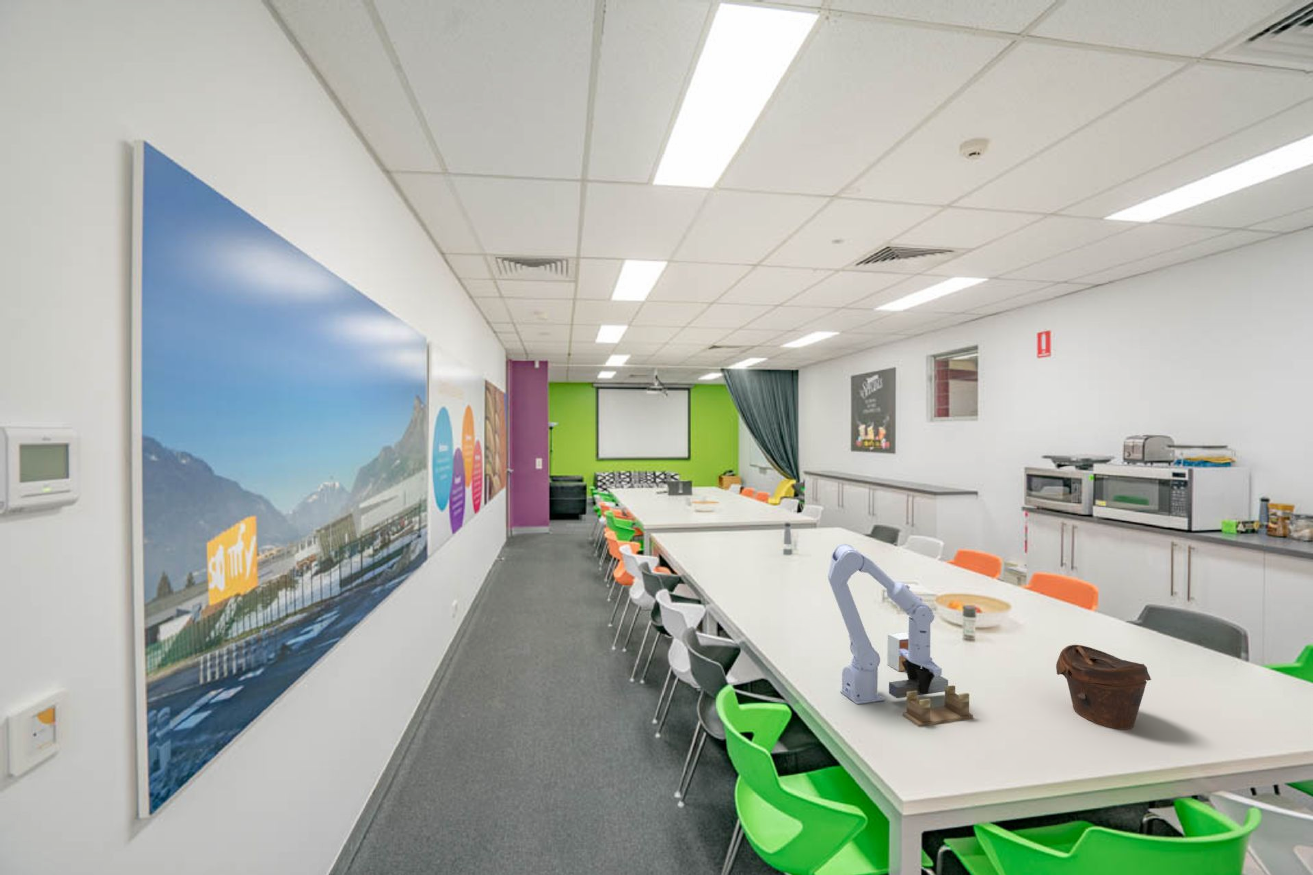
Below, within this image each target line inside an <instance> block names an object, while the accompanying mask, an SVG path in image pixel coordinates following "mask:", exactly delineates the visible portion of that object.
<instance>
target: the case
mask: <svg viewBox="0 0 1313 875" xmlns="http://www.w3.org/2000/svg"><path fill="white" fill-rule="evenodd" d="M1055 668H1056V675H1058V676H1059V675H1062V676H1064V678H1065V679H1066V681H1067V685H1068V690H1069V695H1070V699H1071V703H1072V708H1073V710H1074V711H1075V713H1077V714H1078V715H1079V716H1081V717H1083V718H1084V719H1086V720H1087V721H1090V722H1093V723H1095V724H1098V725H1101V726H1104V727H1107V728H1112V729H1119V730H1127V729H1132V728H1133V727H1134V726H1135V723H1136V720H1137V717H1138V713H1139V711H1140V707H1141V704H1142V703H1141V702H1142V699H1143V696H1144V693H1145V688H1146V686H1147V683H1148V681H1151V680H1152V678H1151V676H1150V673H1149V671H1148V668H1147V665H1145V664H1144V663H1139V662H1133V661H1129V660H1126V659H1121V658H1119V657H1116V656H1115V655H1112V654H1110V653H1108V652H1105V651H1102V650H1099V649H1096V648H1094V647H1093V648H1092V647H1089V646H1086V645H1082V644H1070V645H1067V646H1065V647H1064V648H1063V649H1062V650H1061V651H1060V653H1059V656H1058V658H1057V661H1056V664H1055Z"/></svg>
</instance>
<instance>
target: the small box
mask: <svg viewBox="0 0 1313 875" xmlns="http://www.w3.org/2000/svg"><path fill="white" fill-rule="evenodd" d="M908 636H909V632H907V631H905V632H902V633H901V632H899V633H888V634H887V654H886V655H887V657H886V658H887V659H886V660H887V662H886V663H887V666H889V667H890V668H892V669H894V670H895V671H897V672H903V671H905V672H906V670H905V668H904V666H903V665H902V661H905V660H906V658H905V657H903V656H902V657H901V656H899V655H898V649H906V650H908Z"/></svg>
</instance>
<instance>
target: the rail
mask: <svg viewBox="0 0 1313 875" xmlns="http://www.w3.org/2000/svg"><path fill="white" fill-rule="evenodd" d="M945 686H949V680H948V679H947V678H945V677H944V676H942V675H940V676H934V678H933V679H932V681H931V684H930V686H929V690H928V693H926V694H921V693H920V690H919V679H918V678H916V679H904V680H903V679H902V680H896V681H894V680H893V681H889V682H888V694H889V695H890V696H892V697H894V698H896V699H903V698H907V692H909V691H917V697H918V696H925V695H930V694H932V695H933V694H936V693H937V694H938V693H945Z"/></svg>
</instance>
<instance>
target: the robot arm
mask: <svg viewBox="0 0 1313 875" xmlns="http://www.w3.org/2000/svg"><path fill="white" fill-rule="evenodd" d="M830 558H831V561H830V565H829V571H828V576H827V579H828V582H829V584H830V587H831V590H832V592H833V595H834V598H835V601H836V602H837V603H836V604H837V606H838V609H839V611H840V614H841V616H842V617H841V618H842V620H843V622H844V625H845V628H846V630H847V633H848V637H849V640H850V646H849V649H850V652H851V654H852V655H853V657H852V659H851V663H850V665H848V666H845V667H844V668H843V669H842V674H841V676H842V677H841V689H840V693H842V694H843V695H845V697H847V698H848V699H850V700H851V701H852V702H854V703H855V704H856V705H861V704H868V703H875V702H880V701H885V698H884V697H883V696H881V695H880V694H879V693H878V687H879V686H878V678H879V676H878V675H879V672H878V671H879V670H878V669H879V668H878V667H879V666H880V663H881V657H880V654H879V653H878V651H877V650H875V648H874V647H873V646H872V643H871V641H870V638H869V637H868V635H867V632H866V629H865V627H864V625H863V622H862V619H861V616H860V613H859V611H858V608H857V606H856V603H855V600H854V597H853V595H852V593H851V590H850V587H849V585H848V581H849V580H850V578H851V576H853V575H854V574H855V573H856V572H857V571H858V572H860V573H867V574H869V576H871V577H872V578H873V579H874V580H876V581H877V583H879V584H880V585H882V587H884V588H885V589H886V595H887V597H888V598H889V599H890V600H891V601H892V602H894V604H896V605H897V606H898V607H899V608H900V609H901V610H902V611H904V612H905V613H906V615H907V616H909V617H908V633H909V636H908V650H906V649H898V655H899V656H901V657H902V656H903V657H905V658H906V660H905V661H902V665H903V666H904V668H905V672H906V673H905V674H906V675H907V680H909V679H916V678H918V679H919V690H920V693H921V694H925V695H927V694H926V693H928V690H929V686H930V684H931V681H932V679H933V678H934V676H942V674H943V673H942V671H943V670H942V669H943V668H942V667H940V666H939V665H937V664H936V662H934V661H933V657H931V624H932V623H933V622H934V620H935V615H934V612H933V610H932V608H931V607H930V606H929V605H927V604H926V603H924V602H923V598H922V597H921V596H919V595H916V594H915V593H914V592H913V591H912V590H910V588H911V587H910V586H909V585H908V584H907V583H903V582H901V581H894V580H893V579H892V578H891V577H890V576H888V575H887V573H885V571H884V570H882V569H881V568H880V567H879V566H878V565H877V564H876V563H875V562H874V561H873V560H871V559H870V558H868V557H867V556H866V555H864V554H863V553H862V552H859V551H858V550H857V549H855V548H854V547H853V546H852V545H849V544H847V543H843V544H839V545H838V546H837V547H836V548H835V549H834V550H833V552H832V554H831V557H830Z"/></svg>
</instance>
